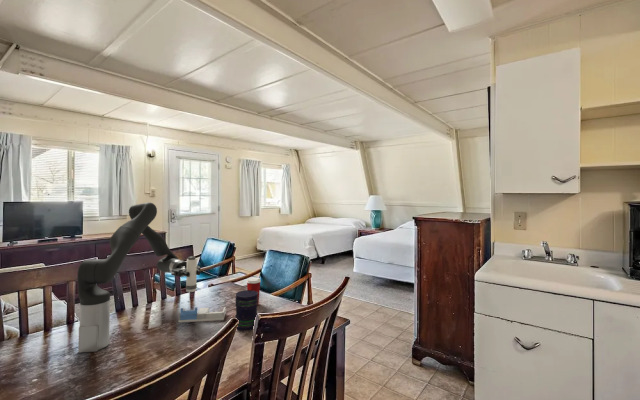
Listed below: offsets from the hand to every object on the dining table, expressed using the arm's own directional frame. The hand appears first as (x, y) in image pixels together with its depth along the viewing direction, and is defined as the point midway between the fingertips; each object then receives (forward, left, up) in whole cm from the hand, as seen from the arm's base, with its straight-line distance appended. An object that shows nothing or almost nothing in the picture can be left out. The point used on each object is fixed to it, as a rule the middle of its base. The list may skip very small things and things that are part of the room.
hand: (194, 273), depth 140 cm
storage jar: (-11, -25, -22) cm, 35 cm away
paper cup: (+17, -27, -22) cm, 39 cm away
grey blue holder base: (+2, -4, -22) cm, 22 cm away
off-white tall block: (+2, +2, -8) cm, 9 cm away
